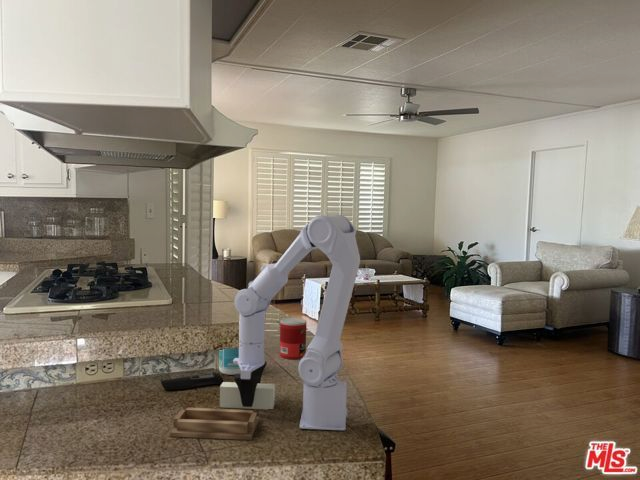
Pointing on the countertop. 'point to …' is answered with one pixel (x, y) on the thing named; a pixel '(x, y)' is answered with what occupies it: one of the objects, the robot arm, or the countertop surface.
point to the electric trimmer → (192, 381)
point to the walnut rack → (215, 423)
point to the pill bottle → (229, 361)
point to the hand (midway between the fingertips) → (250, 399)
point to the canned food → (292, 338)
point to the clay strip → (233, 399)
